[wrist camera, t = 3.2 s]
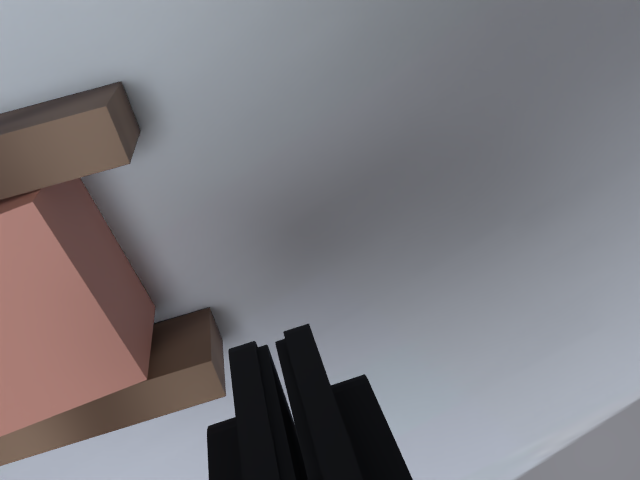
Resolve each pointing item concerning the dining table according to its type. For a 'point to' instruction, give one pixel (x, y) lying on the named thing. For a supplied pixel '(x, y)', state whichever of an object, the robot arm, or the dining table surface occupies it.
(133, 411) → the walnut chute
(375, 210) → the dining table surface
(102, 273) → the pink square block
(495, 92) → the dining table surface
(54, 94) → the dining table surface
